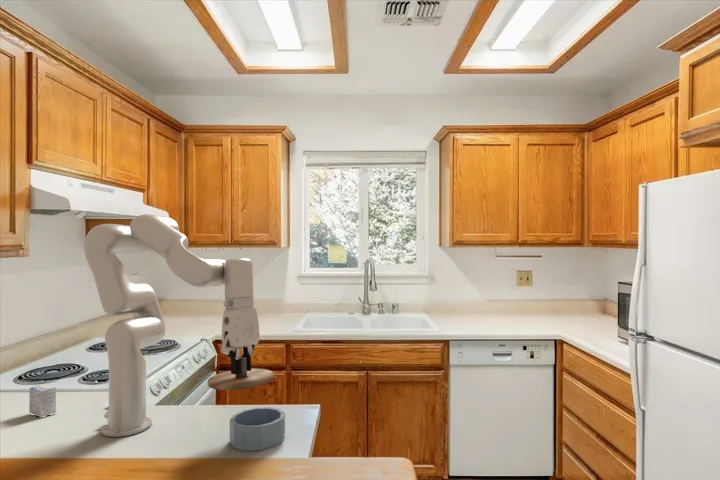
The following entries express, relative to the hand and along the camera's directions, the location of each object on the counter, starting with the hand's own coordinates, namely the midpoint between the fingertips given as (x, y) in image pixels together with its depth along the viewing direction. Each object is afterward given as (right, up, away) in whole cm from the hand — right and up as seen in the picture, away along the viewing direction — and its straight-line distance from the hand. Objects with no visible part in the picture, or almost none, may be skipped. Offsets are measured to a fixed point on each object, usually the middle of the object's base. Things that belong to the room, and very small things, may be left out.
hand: (241, 371), depth 112 cm
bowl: (+5, -18, -1) cm, 19 cm away
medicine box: (-70, -21, +21) cm, 76 cm away
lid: (0, -2, 0) cm, 2 cm away
